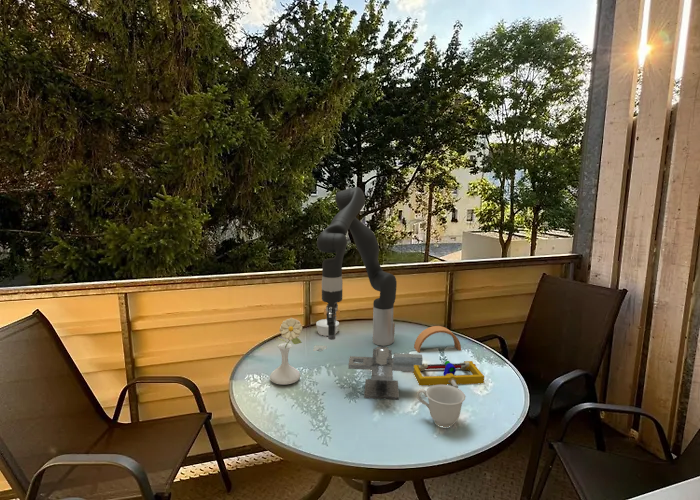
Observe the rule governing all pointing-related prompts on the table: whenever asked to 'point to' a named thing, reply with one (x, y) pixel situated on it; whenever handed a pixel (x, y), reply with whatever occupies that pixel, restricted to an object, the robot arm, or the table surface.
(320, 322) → the ramekin
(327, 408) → the table surface
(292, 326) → the flower in vase
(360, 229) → the robot arm
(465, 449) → the table surface
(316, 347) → the mounting bracket
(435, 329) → the arch
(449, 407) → the teacup
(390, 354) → the metal cross stand
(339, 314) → the pin
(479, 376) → the mechanical clamp
